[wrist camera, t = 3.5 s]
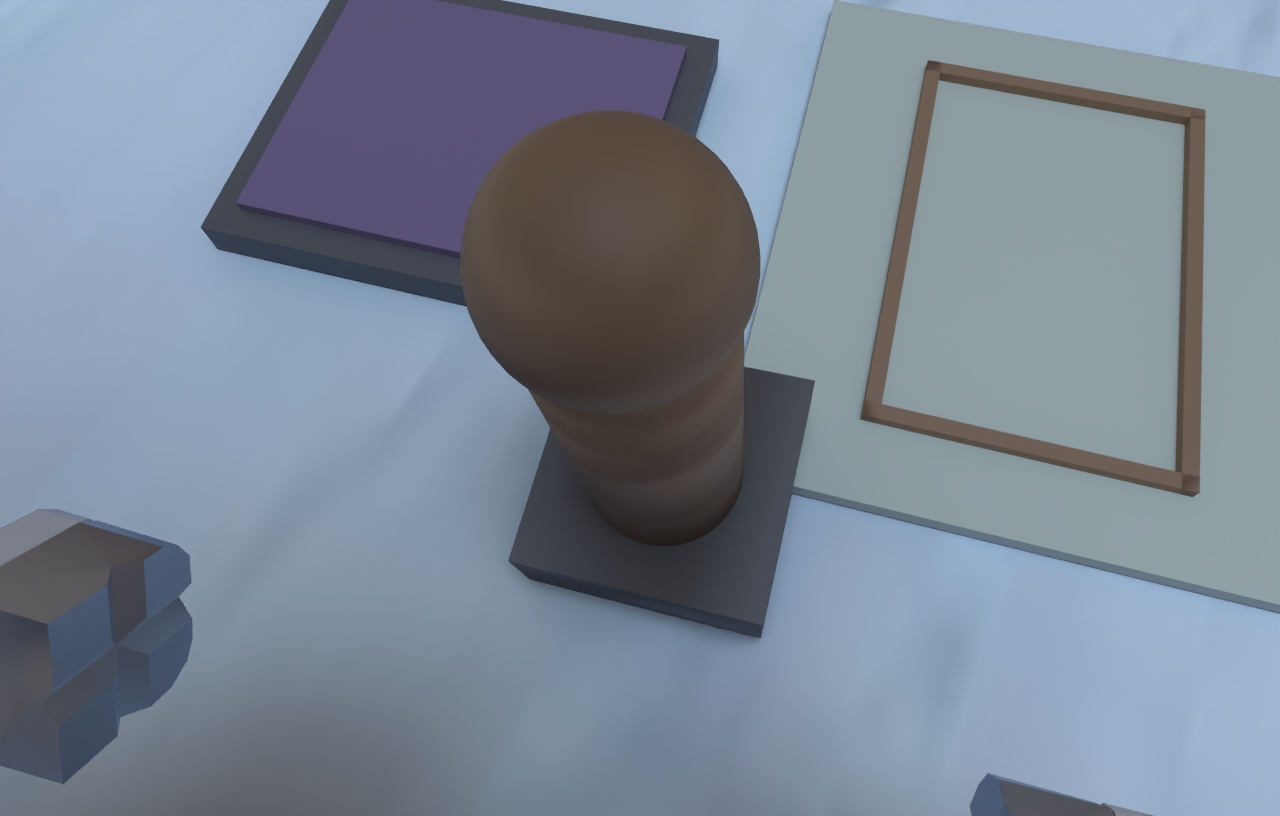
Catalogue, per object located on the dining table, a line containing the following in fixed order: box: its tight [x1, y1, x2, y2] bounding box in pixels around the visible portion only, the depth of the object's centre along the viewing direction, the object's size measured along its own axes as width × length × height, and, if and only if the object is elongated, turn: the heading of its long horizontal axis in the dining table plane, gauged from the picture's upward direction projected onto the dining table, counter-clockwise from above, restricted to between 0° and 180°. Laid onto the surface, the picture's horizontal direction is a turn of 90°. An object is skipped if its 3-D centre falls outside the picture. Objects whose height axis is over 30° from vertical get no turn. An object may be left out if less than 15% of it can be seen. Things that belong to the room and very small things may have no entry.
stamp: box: [460, 110, 815, 638], centre depth 15 cm, size 6×6×12 cm
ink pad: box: [201, 0, 719, 306], centre depth 25 cm, size 12×10×1 cm
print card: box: [744, 0, 1280, 613], centre depth 24 cm, size 14×16×1 cm
